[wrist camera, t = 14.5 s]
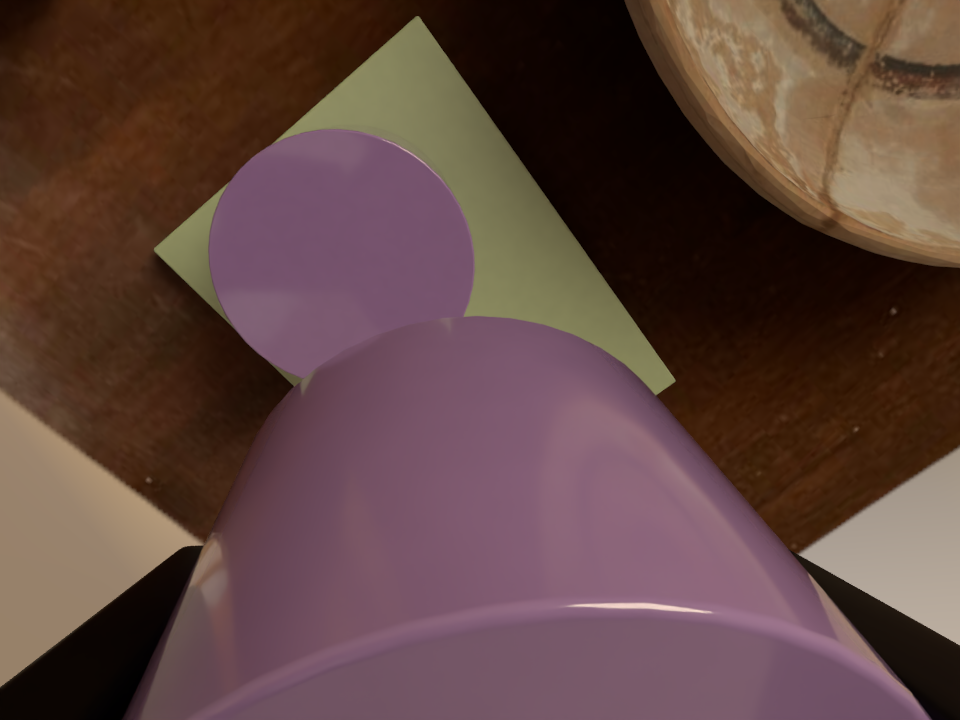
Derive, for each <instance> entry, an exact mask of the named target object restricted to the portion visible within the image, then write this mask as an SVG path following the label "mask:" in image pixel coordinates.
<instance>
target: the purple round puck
mask: <svg viewBox="0 0 960 720" xmlns="http://www.w3.org/2000/svg"><path fill="white" fill-rule="evenodd" d="M208 255H209V268H210V273H211V278H212V283H213V286H214V289H215V292H216V295H217V298H218V301H219V303H220V305H221V307H222V309H223V311H224V313H225V315H226V316H227V318H228V319H229V321H230V323H231V324H232V326H233V327H234V329H235V330H236V331H237V332H238V334H239V335H240V336H241V337H242V338H243V339H244V341H245V342H246V343H247V344H248V345H249V346H250V347H251V348H253V349H254V350H255V351H256V352H257V353H258V354H259V355H260V356H262V357H263V358H265V359H266V360H267V361H269V362H270V363H271V364H273V365H275V366H277V367H278V368H280V369H282V370H284V371H285V372H287V373H290V374H292V375H294V376H297V377H299V378H302V379H304V378H305V377H306V376H307V375H309V374H310V373H311V372H312V371H313V370H314V369H316V368H317V367H319V366H320V365H322V364H323V363H325V362H326V361H328V360H329V359H331V358H333V357H334V356H336V355H337V354H339V353H340V352H342V351H343V350H345V349H347V348H350V347H352V346H354V345H356V344H358V343H360V342H362V341H364V340H367V339H369V338H371V337H373V336H375V335H378V334H381V333H384V332H387V331H390V330H393V329H397V328H400V327H403V326H406V325H409V324H415V323H420V322H425V321H430V320H435V319H441V318H453V317H464V314H465V312H466V309H467V307H468V304H469V301H470V297H471V293H472V289H473V283H474V274H475V255H474V248H473V241H472V236H471V233H470V229H469V226H468V223H467V220H466V218H465V215H464V213H463V211H462V209H461V206H460V204H459V202H458V201H457V199H456V197H455V195H454V193H453V191H452V190H451V188H450V186H449V184H448V182H447V181H446V179H445V178H444V176H443V174H442V173H441V171H440V170H439V169H438V167H437V166H436V165H435V164H434V162H433V161H432V160H431V159H430V158H429V157H428V156H427V155H426V154H425V153H424V152H423V151H422V150H420V149H419V148H418V147H416V146H415V145H414V144H412V143H411V142H409V141H408V140H406V139H404V138H402V137H401V136H399V135H397V134H394V133H392V132H389V131H387V130H384V129H380V128H376V127H372V126H366V125H357V124H352V125H337V126H331V127H326V128H321V129H317V130H312V131H307V132H303V133H300V134H296V135H293V136H290V137H287V138H284V139H282V140H280V141H278V142H276V143H274V144H272V145H270V146H268V147H266V148H265V149H263V150H262V151H260V152H259V153H258V154H256V155H255V156H253V157H252V158H251V159H250V160H249V161H248V162H247V163H246V164H245V165H243V166H242V167H241V168H240V169H239V171H238V172H237V173H236V174H235V176H234V177H233V178H232V179H231V181H230V182H229V183H228V185H227V187H226V188H225V190H224V192H223V194H222V195H221V197H220V199H219V202H218V204H217V207H216V209H215V212H214V215H213V219H212V223H211V228H210V233H209V244H208Z"/></svg>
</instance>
